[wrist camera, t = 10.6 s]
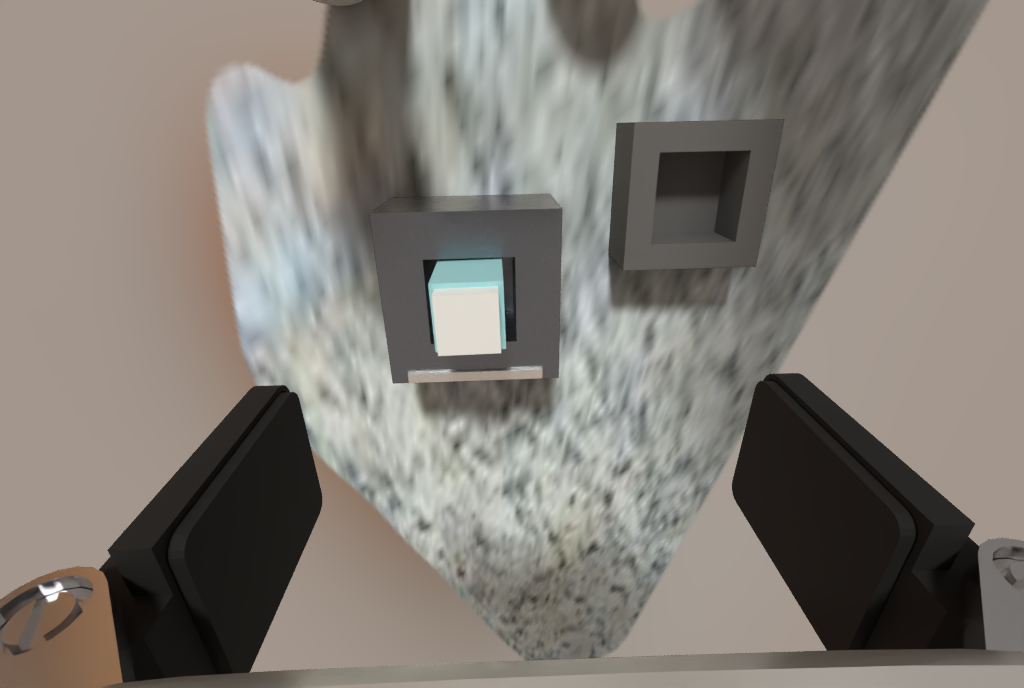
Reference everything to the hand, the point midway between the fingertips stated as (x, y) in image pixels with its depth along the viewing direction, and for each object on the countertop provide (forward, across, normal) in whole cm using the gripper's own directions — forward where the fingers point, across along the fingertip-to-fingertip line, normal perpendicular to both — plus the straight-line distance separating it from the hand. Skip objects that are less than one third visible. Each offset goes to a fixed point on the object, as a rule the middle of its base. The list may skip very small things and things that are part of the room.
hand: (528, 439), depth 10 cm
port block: (+23, +2, +4) cm, 24 cm away
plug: (+22, +2, +3) cm, 23 cm away
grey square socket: (+24, -11, -2) cm, 26 cm away
